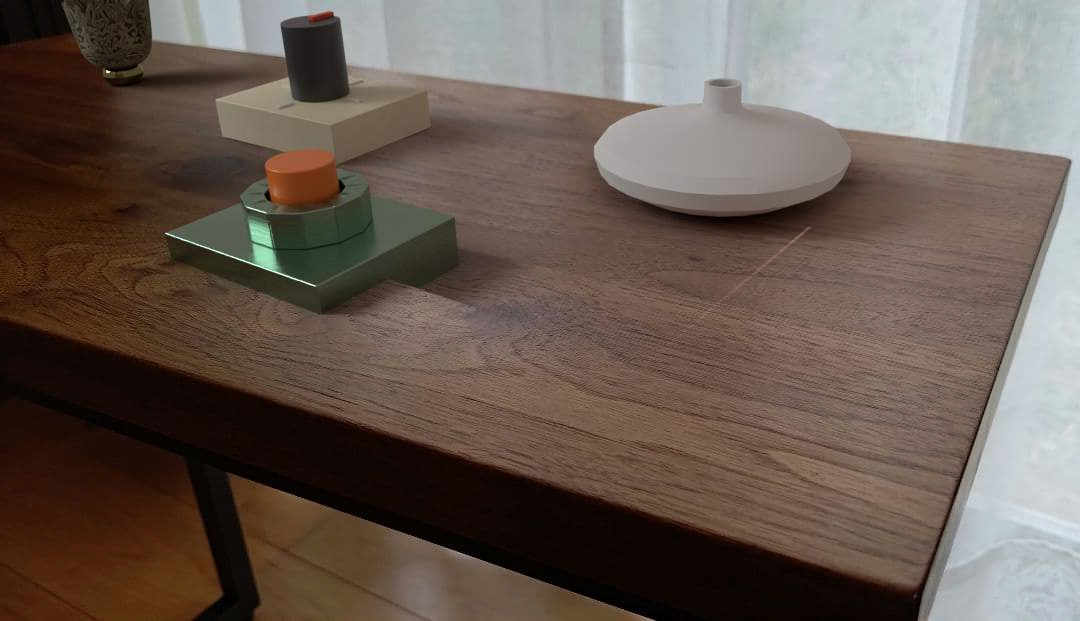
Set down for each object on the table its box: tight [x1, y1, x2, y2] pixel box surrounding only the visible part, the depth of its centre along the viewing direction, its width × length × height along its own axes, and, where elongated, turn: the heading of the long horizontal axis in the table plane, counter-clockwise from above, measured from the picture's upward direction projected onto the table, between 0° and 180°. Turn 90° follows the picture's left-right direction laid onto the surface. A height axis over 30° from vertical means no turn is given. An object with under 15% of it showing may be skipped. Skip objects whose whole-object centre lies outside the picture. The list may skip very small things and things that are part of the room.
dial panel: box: [215, 75, 432, 166], centre depth 77 cm, size 13×10×3 cm
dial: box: [279, 10, 350, 102], centre depth 75 cm, size 4×4×6 cm
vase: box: [593, 77, 852, 218], centre depth 62 cm, size 16×16×7 cm
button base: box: [164, 168, 460, 315], centre depth 54 cm, size 12×10×5 cm
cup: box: [61, 0, 153, 86], centre depth 92 cm, size 8×7×8 cm
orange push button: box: [264, 149, 340, 205], centre depth 52 cm, size 4×4×2 cm
